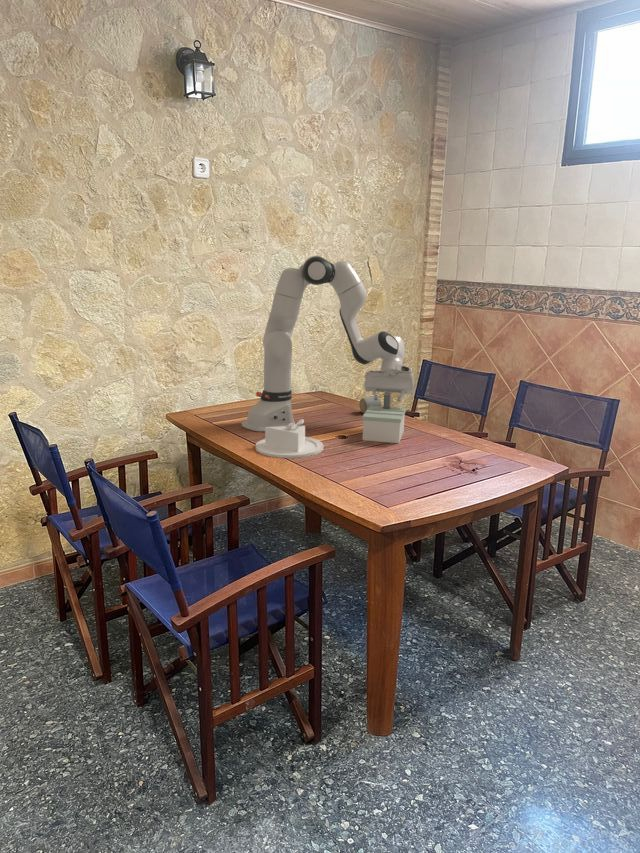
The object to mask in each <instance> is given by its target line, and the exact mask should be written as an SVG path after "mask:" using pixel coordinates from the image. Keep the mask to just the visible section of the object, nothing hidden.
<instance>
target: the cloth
mask: <svg viewBox="0 0 640 853" xmlns="http://www.w3.org/2000/svg"><path fill="white" fill-rule="evenodd" d="M463 458H464V457H463V456H460V455H449V456H445V457H444V458H441V459H440V460H441V462H443V464H444V465H443V464H442V465H443V466H444V467H445V466H446V467H448V468H450V469H451V470H450V469H449V470H450V471H452V470H454V469H452V467H453V468H456V469H459V470H461V469H463V470H465V471H468V472H470V473H469V474H472V472H471V471H472V470H473V469H478V471H474V470H473V472H474V473H477V474H478V472H479V468H478V466H475V465H476V464H477V465H488V461H486V460H485V459H484V460H483V459H464V460H463ZM444 460H445V461H444ZM462 460H463V461H462ZM441 462H440V463H441ZM444 462H451V463H448V464H446V463H444ZM459 463H464V464H459ZM465 464H475V465H465ZM488 466H489V465H488ZM446 467H445V468H446ZM448 468H447V469H448ZM454 471H456V470H454ZM454 471H453V472H454ZM456 472H459V473H461V474H463V473H462V472H460V471H456ZM456 472H455V473H456ZM474 473H473V474H474Z"/></svg>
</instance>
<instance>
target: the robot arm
mask: <svg viewBox="0 0 640 853" xmlns="http://www.w3.org/2000/svg"><path fill="white" fill-rule="evenodd" d="M324 284H329V285H331V287H332V288H333V290H334V292H335V294H336V295H337V297H338V299H339V304H340V308H339V311H338V312H339V317H340V319H341V322H342V326H343V328H344V331H345V333H346V335H347V339H348V341H349V344H350V348H351V353H352V356H353V358H354V359H355V361H357V362H358V363H360V364H361V365H368V364H370V363H371V362H373V361H376V360H378V359H381V360H382V362H381V365H380V370H369V371H366V372H365V376H364V377H365V379H364V384H363V387H364V390H365V391H366V392H371V393H372V395H373V396H374V400H378V396H379V395H378V394H377V392H378V393H385V392H387V393H391V394H392V393H393V394H394V393H395V394H400V395H397V398H396V399H397V402H398V403H401V402H402V399H403V398H404V397H405V395H406V394H407V395H408V394H409V395H411V394H413V393H414V392H415V379H414V375H413V374H414V373H413V372H414V371H413V369H412V367H409V366H406V365H403V362H404V359H405V352H406V351H405V350H406V349H405V342H404V340H403V339H402V337H400V336H397V335H392V334H390V333H389V332H388V331H384V330H382V331H379V332H377V333H375V334H371V336H368V337H365V338H363V337H362V334H361V332H360V329H359V326H358V324H357V314H358V312H359V311H360V310H361V308H362V307H363V306H365V303H366V301H367V296H368V295H367V289H366V287H365V285H364V284H363V282H362V280H361V278H360V276H359V275H358V273H357V272H356V270H355V269H354V267H353V266H352V265H351V264H350V262H348V261H345V260H342V261H337V262H335V263H331V262H330V261H329V260H327V259H325V258H324V257H322V256H319V255H313V256H310V257H308V258H307V259H305V261H304V262H303V264H302V265H301V266H300V267H299V268H296V267H288V268H285V269H284V270H283V271H282V272H281V273H280V276H279V279H278V281H277V284H276V288H275V290H274V294H273V300H272V305H271V309H270V312H269V316H268V320H267V323H266V328H265V330H264V334H263V338H262V345H263V350H264V353H263V354H264V356H263V357H264V361H263V390H262V392H260V391H256V392H255V396H256V397H258V398H260V399H259V401H257V402H256V403H255V404H254V405H253V406H252V407H251V408H250V409H249V410H248V412H247V417H246V420H245V421H242V422H241V427H243V428H244V429H247V430H250V431H254V432H265V427H281V426H287V425H289V424H290V423H293V422H295V420H294V416H293V411H292V410H293V409H292V397H293V395H292V394H293V393H292V392H293V391H292V388H291V387H292V382H291V381H292V380H291V376H292V375H291V374H292V373H291V372H292V371H291V370H292V360H293V358H292V356H293V341H292V335H293V331H294V329H295V326H296V322H297V320H298V317H299V313H300V309H301V305H302V300H303V296H304V292H305V291H306V287H308V285H314V286H321V285H324Z"/></svg>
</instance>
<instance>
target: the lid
mask: <svg viewBox="0 0 640 853" xmlns="http://www.w3.org/2000/svg"><path fill="white" fill-rule="evenodd" d="M391 402H392V393H389V392H384V393H383V405H382V406H369V408H367V411H365V413H363V415H362V418H361V419H362V421H363V420H365V421H379V422H392V423H401V421H402V419H403V417H404V414H406V410H407V409H406V408H407V407H396V406H394V407H393V406H391ZM404 418H405V417H404Z"/></svg>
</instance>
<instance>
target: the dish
mask: <svg viewBox="0 0 640 853" xmlns="http://www.w3.org/2000/svg"><path fill="white" fill-rule="evenodd" d="M304 422H305V420H304V419H303V418H300V419H299V420H298V421H297V422H296V423H295V421H294V422H293V423H290V424H289V425H287V426H281V427H265V431H264V436H265V437H264V438H263V439H261V440H259V441H258V442H256V443H255V450H256V452H258V453H260V454H261V455H264V456H268V457H271V458H272V457H273V458H280V459H298V458H299V459H300V457H301V458H307V456H308V457H311V455H312V456H315V455H318V454H320V453H321V452H323V450H324V448H325V446H324V444H323V442H322V441H321V440H318V439H316V438H314V437H309V436H306V425H303V424H304Z"/></svg>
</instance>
